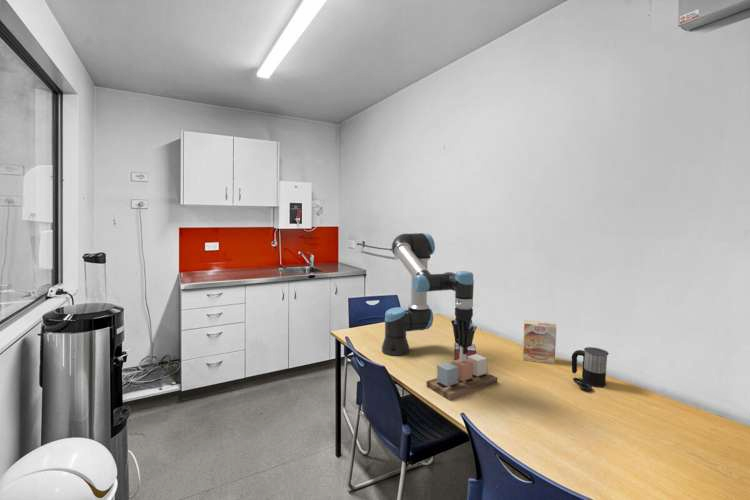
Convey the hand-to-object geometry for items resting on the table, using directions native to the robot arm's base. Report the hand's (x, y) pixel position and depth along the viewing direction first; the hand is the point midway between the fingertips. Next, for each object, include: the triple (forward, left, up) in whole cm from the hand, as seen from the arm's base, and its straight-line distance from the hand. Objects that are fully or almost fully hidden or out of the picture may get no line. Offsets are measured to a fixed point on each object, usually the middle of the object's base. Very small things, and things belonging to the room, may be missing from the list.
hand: (462, 360), depth 158 cm
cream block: (0, +9, -8) cm, 12 cm away
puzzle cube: (-14, +16, -11) cm, 24 cm away
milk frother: (+30, +47, -11) cm, 57 cm away
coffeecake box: (+1, +54, -11) cm, 55 cm away
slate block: (0, -9, -8) cm, 12 cm away
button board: (0, 0, -11) cm, 11 cm away
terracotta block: (0, 0, -8) cm, 8 cm away
